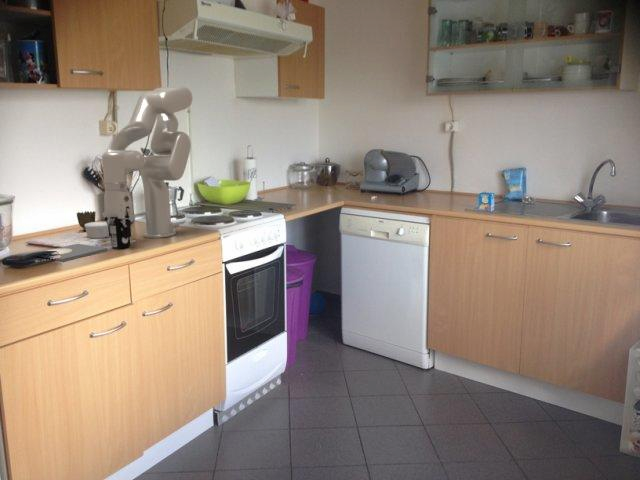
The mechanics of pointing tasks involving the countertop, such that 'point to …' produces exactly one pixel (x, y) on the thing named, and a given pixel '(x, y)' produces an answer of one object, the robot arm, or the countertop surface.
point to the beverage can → (118, 233)
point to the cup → (85, 218)
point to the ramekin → (97, 229)
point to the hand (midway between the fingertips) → (120, 236)
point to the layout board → (77, 251)
